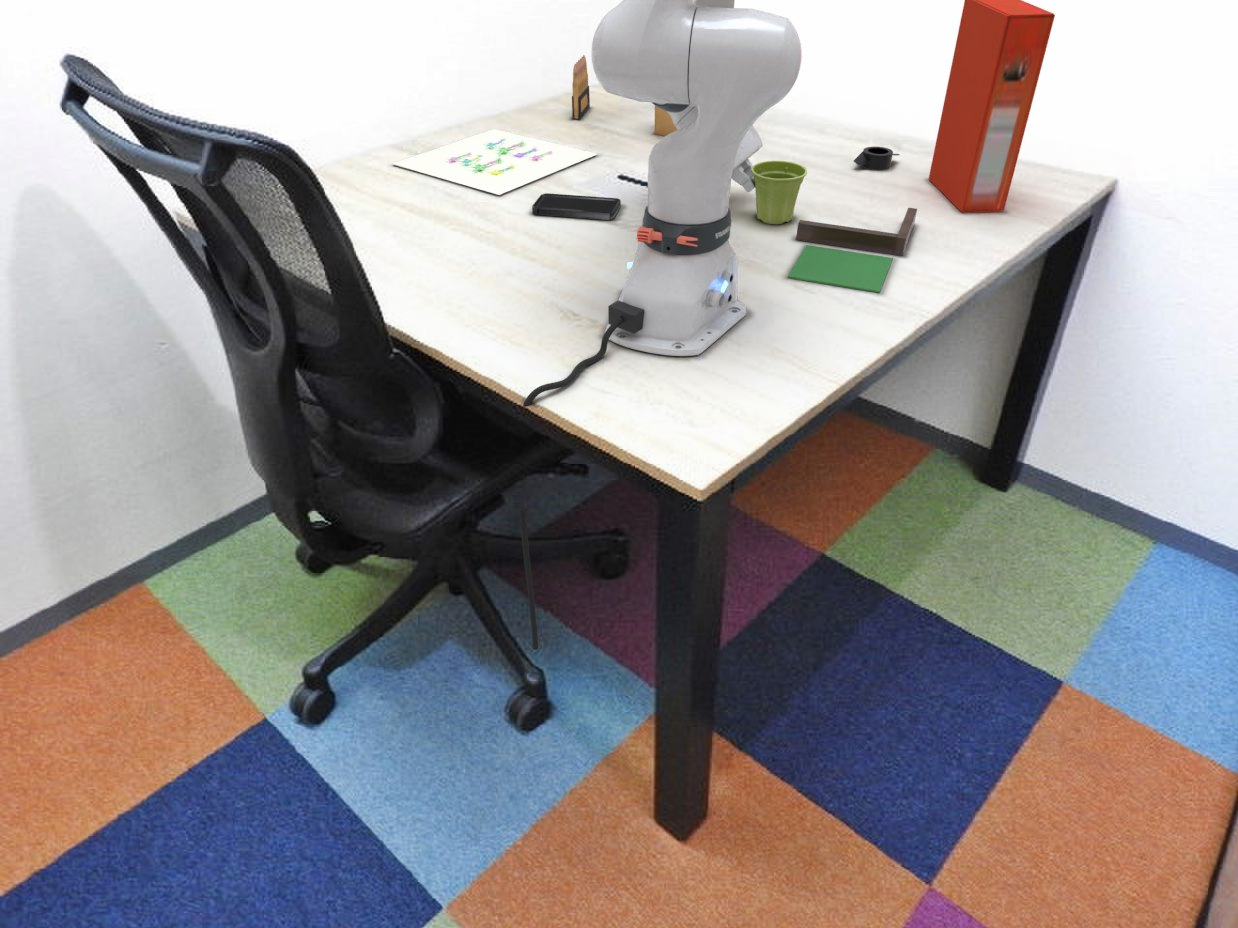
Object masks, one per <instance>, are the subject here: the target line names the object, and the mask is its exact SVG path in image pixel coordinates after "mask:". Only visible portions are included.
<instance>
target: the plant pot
mask: <svg viewBox="0 0 1238 928" xmlns="http://www.w3.org/2000/svg"><path fill="white" fill-rule="evenodd" d="M752 166H753V167H752V169H751V171H752V173H753V174H754V181H755V188H754V189H755V202H756V203H755V204H756V205H755V207H756V218H757V220H761V221H762V222H763V223H765V224H769V225H781V224H783V223H785V222H787V223H789V222H790V221H791V220H792V218H793V214H794V212H795V211H794V210H795V206H796V203H797V199H798V196H799V192H800V189H801V185H802V184H803V182H804V180H805V179H804V178H805V177H806V176H807V174H808V169H807V168H806V167H805V166H804V165H802V164H800V163H797V162H794V161H793V162H792V161H787V160H765V161H760V162H757V163H755V164H753V165H752Z"/></svg>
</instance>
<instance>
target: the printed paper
mask: <svg viewBox="0 0 1238 928" xmlns="http://www.w3.org/2000/svg"><path fill="white" fill-rule="evenodd" d="M597 155H598V153H597V152H592V151H587V150H584V149H580V148H576V147H571V146H567V145H563V144H558V143H555V142H550V141H547V140H543V139H538V138H534V137H530V136H526V135H522V134H517V133H513V132H508V131H506V130H505V131H504V130H500V129H495V128H492V129H489V130H487V131H486V130H485V131H484V132H481V133H477V134H475V135H472V136H469V137H466V138H463V139H460V140H457V141H454V142H451V143H449V144H446V145H442V146H440V147H437V148H434V149H430V150H428V151H424V152H422V153H419V154H416V155H414V156H410V157H407V158H405V159H402V160H398V161H395V162H393V163H392V165H394V166H397V167H400V168H404V169H407V170H412V171H415V172H419V173H422V174H425V175H428V176H432V177H434V178H435V177H436V178H439V179H443V180H446V181H449V182H452V183H455V184H459V185H464V186H467V187H470V188H473V189H477V190H481V191H484V192H487V193H491V194H493V195H498V196H501V195H503V194H506V193H508V192H511V191H513V190H515V189H518V188H519V187H522V186H525V185H527V184H529V183H532V182H534V181H537V180H539V179H542V178H544V177H546V176H549V175H551V174H554V173H556V172H558V171H561V170H563V169H566V168H568V167H570V166H572V165H576V164H578V163H580V162H582V161H583V162H584V160H588V159H589V158H593V157H594V156H597Z"/></svg>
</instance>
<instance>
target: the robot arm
mask: <svg viewBox="0 0 1238 928" xmlns="http://www.w3.org/2000/svg"><path fill="white" fill-rule="evenodd" d="M591 42H592V43H591V52H590V55H591V56H590V57H591V65H592V70H593V73H594V75H595V77H596V79H597V81H598V82H599V85H600V86H601V87H602V88H603V90H604V91H605V92H606V93H608V94H611V95H614V96H617V97H621V98H624V99H628V100H632V101H636V102H639V103H651V104H653V106H654V107H655V106H656V107H658V108H660V109H662V110H665V111H667V112H668V113H669V115H670V116H671V118H672V121H673V123H674V125H675V126H676V128H677V129H678V130H676V131H674V132H672V133H670V134H668V135H666V136H662V138H660V139H659V140H658V141H657V142H656V143H655V144H654V146H653V147H652V149H651V150H650V153H649V155H648V160H647V163H648V164H647V205H646V206H645V208H644V213H643V217H642V220H641V221H642V222H641V226H638V229H637V232H636V240H637V242H638V246H637V248H636V252H635V253H634V257H633V260H632V261H629V262H627V263H626V268H627V269H629V272H628V276H627V278H626V282H625V284H624V287H623V288H622V290H621V292H620V295H619V297H618V300H617V301H615V302H613V303H611V304H608V306H607V307H608V308H607V309H608V311H607V312H608V322H607V325H606V327H605V330H604V334H603V336H602V338H601V343H600V348H599V350H598V352H596V354H595V355H593V356H591V357H587V358H585V359H583V360H582V361H580V362H579V363H578V364H577V365H575V367H574V368H573V369H572V371H571V372H570V373H569V375H568V376H566V377H565V378H564V379H561V380H558V381H555V382H550V383H549V382H548V383H544V384H542V385H539V386H538V387H536V388H535V389H533V390H532V391H531V392H530V393H529V394H528V395H527V397H526V398H525V400H524V402H523V404H522V407H525V408H527V407H529V406H531V404H532V403H533V401H534V400H535V399H536V398H537V397H538V396H539V395H541V394H542V393H545V392H548V391H553V390H558V389H561V388H564V387H566V386H568V385H570V384H571V383H572V382H573V381H575V379H576V378H577V377H578V375H579V374H580V372H581V371H582V370H583V369H585V368H586V367H587V366H590V365H592V364H595V363H597V362H599V361H600V360H601V359H602V358H603V357H604V355H605V354H606V352H607V349H608V343H609V341H611V342H613V343H614V344H617V345H619V346H622V347H625V348H628V349H631V350H635V351H640V352H645V353H649V354H654V355H655V354H656V355H662V356H672V357H693V356H698V355H701V354H702V353H703V352H705V350H707V349H709V347H710V346H712V344H714V343H715V342H716V341H717V340H718V339H719V338H721V337H722V336H723V335H724V334H725V333H727V332H728V331H729V330H730V329H731V328H732V327H734V326H735V325H736V324H737V323H738V322H739V321H741V320H742V319H744V318H745V316H746V315H747V306H746V305H745V304H744V303H742V302H741V301H739V300H738V286H739V285H738V282H739V281H738V280H739V256H738V255H737V253H736V252H735V251H734V249H733V248H732V246H731V244H730V241H729V239H730V237H731V228H732V211H731V208H730V207H729V205H730V194H731V185H732V181H734V182H735V183H737V184H739V185H740V186H741V187H742V188H743V189H744V190H745V192H746V193H750V192H752V191H753V190H755V189H756V188H755V181H754V174H753V173H752V171H751V169H752V167H753V166H754V165H753V163H752V162H751V161H750V160H749V159H750V158H751V157H752V156H753V155H755V154H756V153H757V152H758V151H759V150H760V149H761V148H762V147H764V146H763V141H762V138H761V136H760V134H759V132H758V131H757V130H756V128H755V126H754V125H753V124H754V123H755V122H756V121H757V120H758V119H759V118H760V117H761V116H762V115H764V113H766V112H767V111H768V110H769V109H771V108H773V107H774V106H775V105H777V104H779V103H780V102H781V101H782V100H783V99H784V98H785V97H786V96H787V95H788V94H789V92H791V90H792V89H793V88H794V85H795V84H796V81H797V80H798V77H799V74H800V71H801V67H802V66H801V65H802V58H803V56H802V55H803V54H802V52H803V51H802V45H801V39H800V37H799V34H798V32H797V29H796V27H795V26H794V24H793V23H792V22H791V21H790V19H789V18H788V17H785V16H782V15H780V14H779V15H778V14H775V13H771V12H769V11H768V12H767V11H764V10H759V9H756V8H742V7H741V8H740V7H734V8H716V7H698V6H696V0H622V1H621V2H620V3H618V4H617V5H616V6H615V7H613V8H612V9H610V10H609V11H608V12H607V13H605V15H604V16H603V17H602V19H601V20H600V22H599V23H598V24H597V27H596V28H595V31H594V34H593V38H592V41H591ZM519 521H520V522H519V523H520V534H521V535H520V536H521V544H522V545H521V547H522V555H523V564H524V570H525V572H524V573H525V582H526V588H527V589H526V590H527V600H528V607H529V618H530V627H531V628H530V629H531V640H532V641H531V642H532V649H533V650H534V651H537V650H539V637H538V626H537V625H538V624H537V611H536V603H535V594H534V593H535V592H534V583H533V574H532V565H531V557H530V555H531V554H530V546H529V545H530V544H529V536H528V535H529V534H528V524H527V512H526V511H524V510H522V509H519Z"/></svg>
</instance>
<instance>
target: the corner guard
mask: <svg viewBox="0 0 1238 928" xmlns="http://www.w3.org/2000/svg"><path fill="white" fill-rule="evenodd" d="M917 212H918V208H915V207H908V208H907V210H906V213H905V215H904V217H903V220H902V223H901V226H900V227H899V230H898V233H894V232H887V231H880V230H873V229H866V228H859V227H853V226H845V225H838V224H832V223H824V222H817V221H812V220H811V221H810V220H805V219H800V220H799V221H798V222H797V228H796V229H797V230H796V237H795V240H796V241H800V242H801V241H802V242H807V243H815V244H821V245H828V246H833V247H841V248H848V249H853V250H854V249H855V250H861V251H866V252H872V253H873V252H875V253H880V254H886V255H895V256H900V257H903V256H904V253H905V250H906V247H907V244H908V242H909V240H910V238H911V234H912V231H913V229H914V226H915V221H916V217H917Z"/></svg>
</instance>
